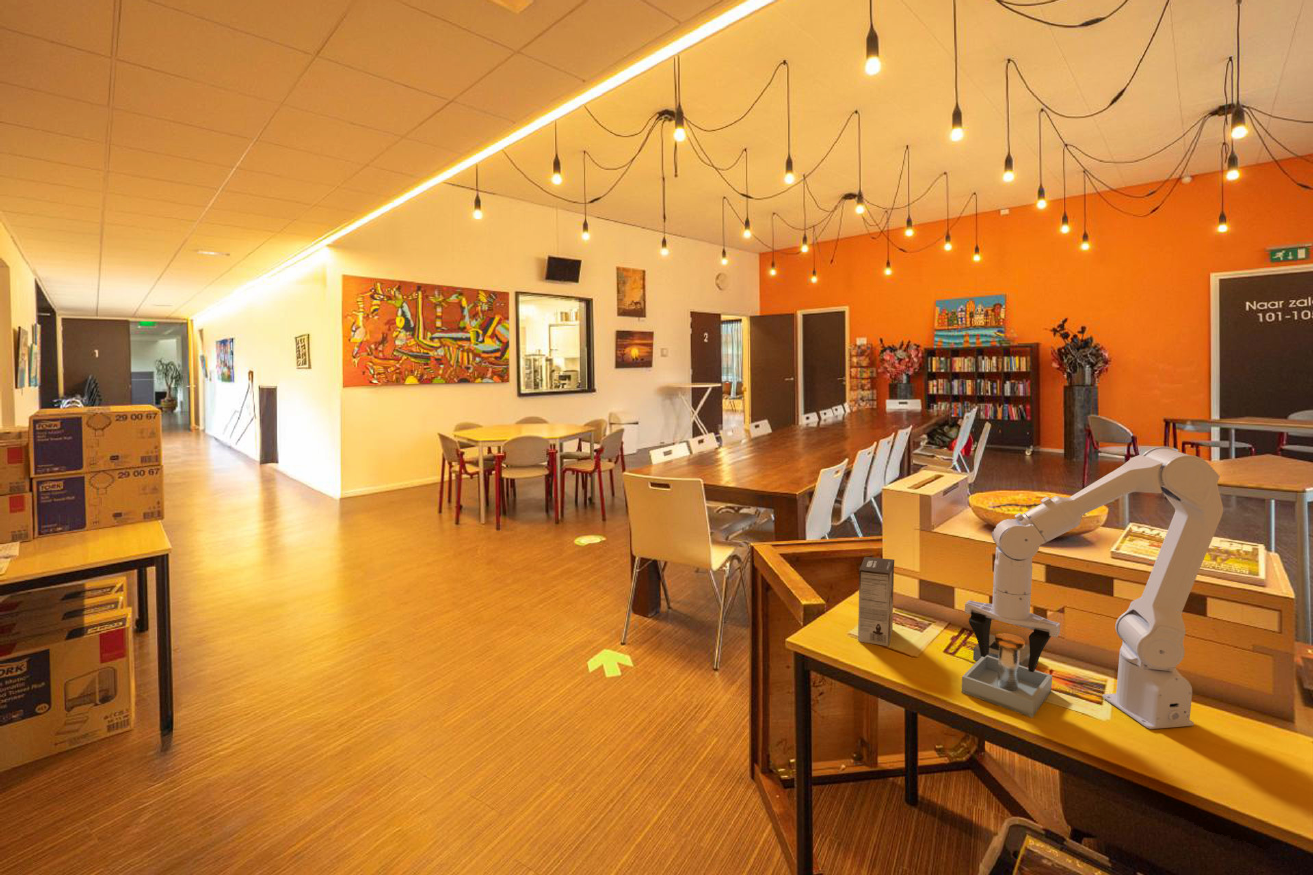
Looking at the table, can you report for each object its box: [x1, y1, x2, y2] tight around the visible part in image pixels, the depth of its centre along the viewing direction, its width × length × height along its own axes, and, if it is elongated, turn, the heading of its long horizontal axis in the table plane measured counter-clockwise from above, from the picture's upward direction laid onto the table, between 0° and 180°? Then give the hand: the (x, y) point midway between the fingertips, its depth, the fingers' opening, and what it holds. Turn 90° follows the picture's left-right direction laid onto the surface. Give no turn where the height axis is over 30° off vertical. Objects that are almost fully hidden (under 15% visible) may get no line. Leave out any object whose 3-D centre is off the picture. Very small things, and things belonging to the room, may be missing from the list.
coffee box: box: [857, 556, 895, 647], centre depth 131 cm, size 9×6×16 cm
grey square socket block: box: [972, 633, 1030, 668], centre depth 120 cm, size 8×8×2 cm
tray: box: [961, 655, 1053, 719], centre depth 109 cm, size 11×11×3 cm
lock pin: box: [994, 632, 1026, 691], centre depth 109 cm, size 5×5×9 cm
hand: (1007, 662), depth 108 cm, fingers open, 7 cm apart
